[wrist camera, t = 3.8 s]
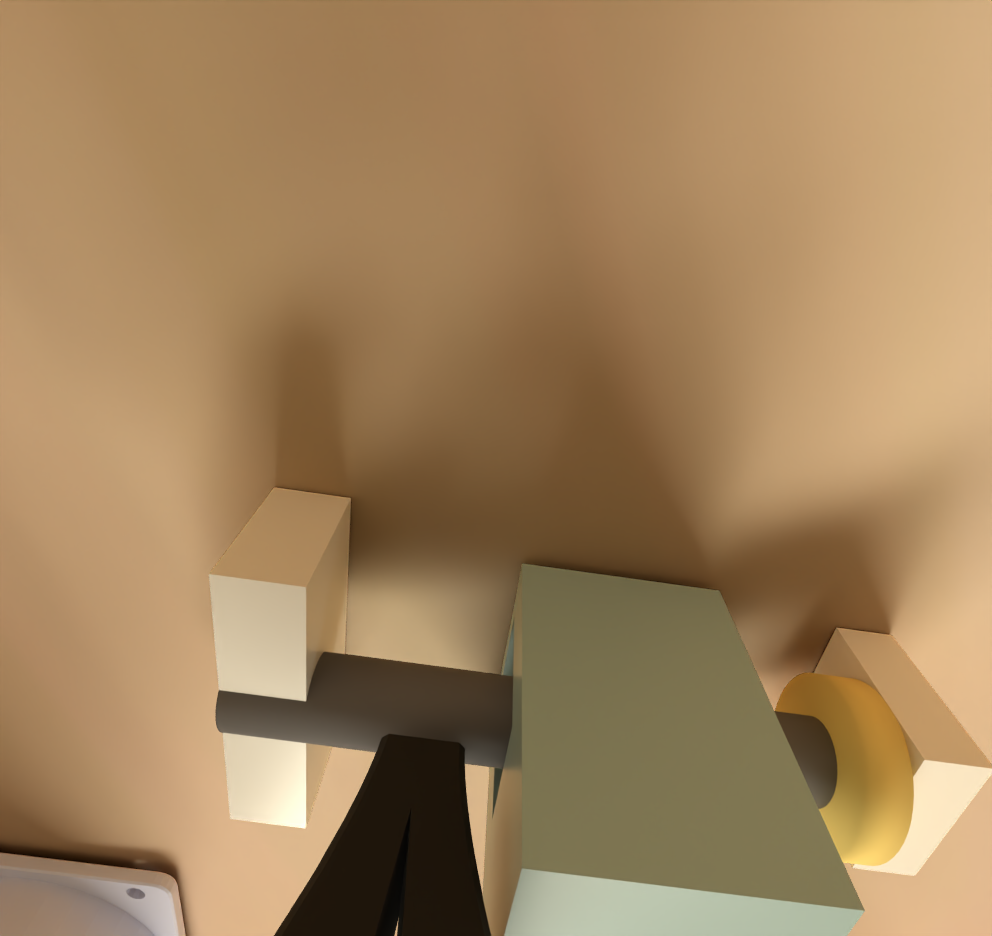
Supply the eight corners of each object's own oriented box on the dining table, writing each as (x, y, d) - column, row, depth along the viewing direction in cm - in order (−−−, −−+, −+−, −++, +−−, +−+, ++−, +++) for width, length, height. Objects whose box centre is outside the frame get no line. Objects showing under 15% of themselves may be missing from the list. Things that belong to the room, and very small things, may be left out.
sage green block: (492, 718, 14) (474, 1048, 9) (522, 563, 12) (522, 868, 7) (662, 740, 14) (743, 1078, 9) (718, 590, 12) (864, 910, 7)
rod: (268, 682, 14) (201, 823, 11) (264, 564, 12) (185, 690, 9) (847, 758, 14) (931, 913, 11) (910, 651, 12) (1024, 798, 10)
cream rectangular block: (280, 706, 15) (229, 819, 12) (274, 487, 12) (208, 574, 10) (342, 714, 15) (306, 828, 12) (351, 497, 12) (306, 587, 10)
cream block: (786, 726, 14) (852, 867, 12) (836, 627, 13) (924, 759, 10) (837, 733, 14) (915, 875, 12) (891, 635, 13) (995, 769, 10)
